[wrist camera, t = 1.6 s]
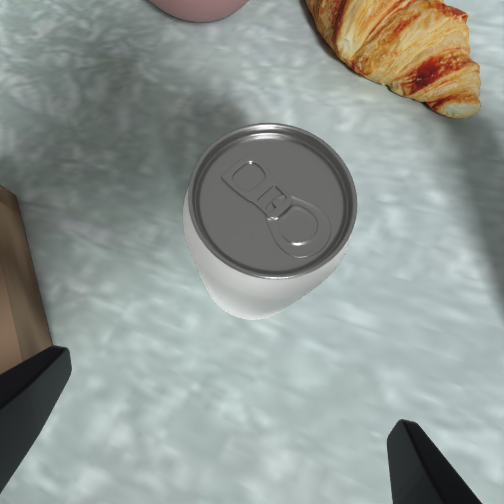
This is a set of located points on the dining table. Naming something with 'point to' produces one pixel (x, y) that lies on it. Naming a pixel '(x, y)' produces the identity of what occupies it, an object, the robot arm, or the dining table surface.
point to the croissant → (405, 48)
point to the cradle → (18, 291)
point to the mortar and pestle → (199, 8)
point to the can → (267, 217)
